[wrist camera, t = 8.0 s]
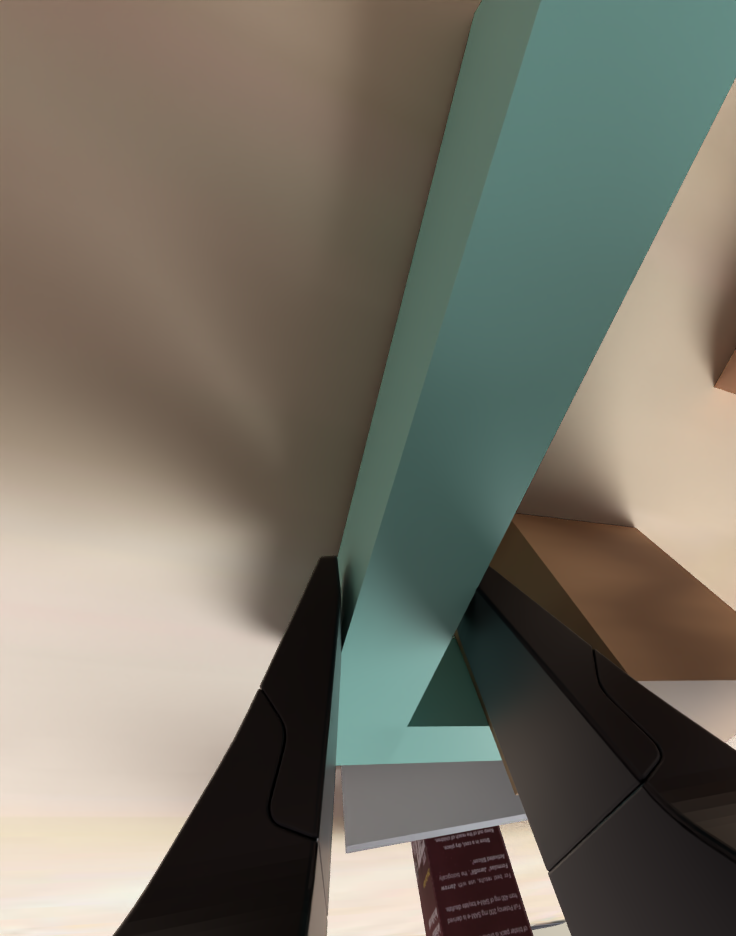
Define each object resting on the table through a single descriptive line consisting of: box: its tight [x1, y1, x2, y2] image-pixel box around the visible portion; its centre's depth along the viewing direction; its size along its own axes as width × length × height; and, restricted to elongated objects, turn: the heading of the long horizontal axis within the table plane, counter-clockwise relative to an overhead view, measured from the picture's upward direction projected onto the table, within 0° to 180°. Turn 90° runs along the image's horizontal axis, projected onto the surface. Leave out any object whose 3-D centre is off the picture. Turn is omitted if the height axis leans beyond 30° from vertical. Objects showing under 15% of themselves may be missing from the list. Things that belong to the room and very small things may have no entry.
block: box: [454, 513, 736, 795], centre depth 10 cm, size 5×5×5 cm
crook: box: [336, 0, 736, 766], centre depth 9 cm, size 9×16×3 cm, turn 166°
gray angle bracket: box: [341, 760, 528, 853], centre depth 15 cm, size 12×12×3 cm
